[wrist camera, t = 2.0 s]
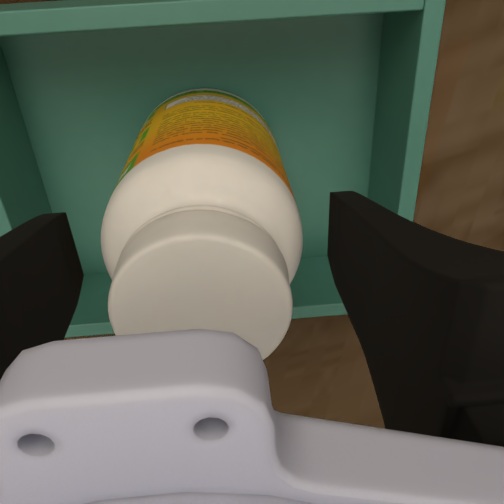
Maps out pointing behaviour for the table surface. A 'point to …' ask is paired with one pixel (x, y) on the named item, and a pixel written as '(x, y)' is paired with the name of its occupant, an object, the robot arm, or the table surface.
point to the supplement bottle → (203, 224)
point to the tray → (222, 78)
